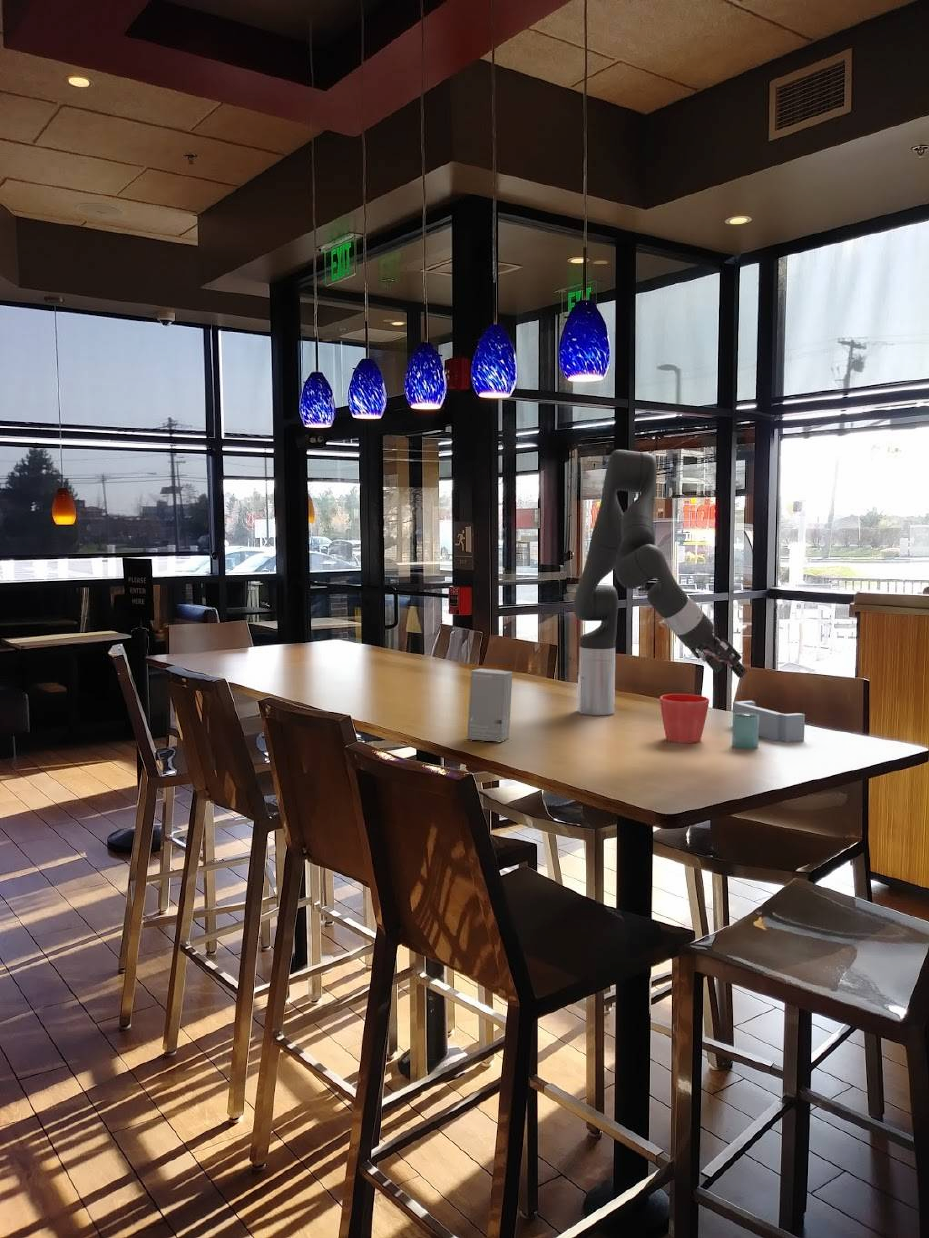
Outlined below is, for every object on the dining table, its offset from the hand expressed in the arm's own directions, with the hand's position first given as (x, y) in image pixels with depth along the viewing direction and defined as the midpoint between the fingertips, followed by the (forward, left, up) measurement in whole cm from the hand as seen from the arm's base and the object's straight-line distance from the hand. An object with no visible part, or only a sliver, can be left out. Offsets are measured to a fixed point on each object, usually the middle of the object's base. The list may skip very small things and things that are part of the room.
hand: (731, 672), depth 219 cm
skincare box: (-52, +8, -17) cm, 55 cm away
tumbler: (+4, +1, -17) cm, 17 cm away
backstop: (+13, +16, -17) cm, 26 cm away
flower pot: (-8, +8, -17) cm, 21 cm away
